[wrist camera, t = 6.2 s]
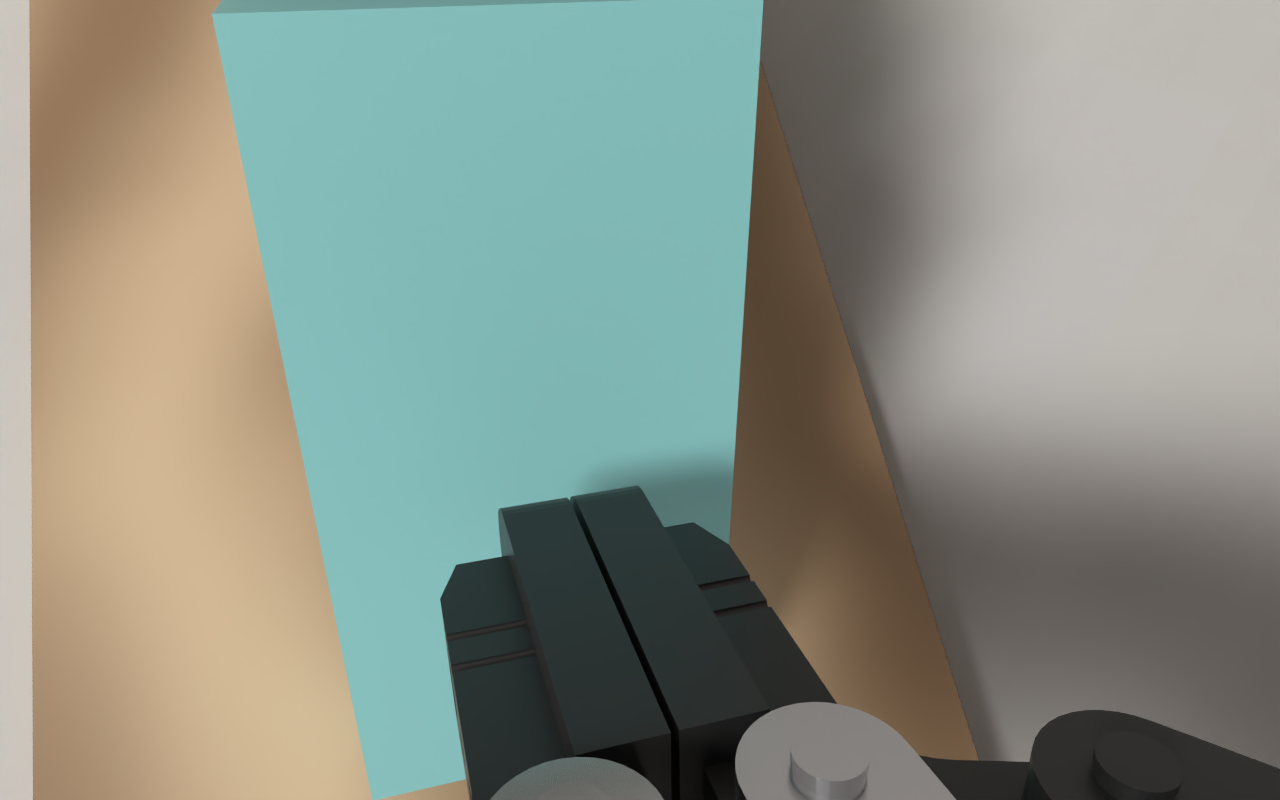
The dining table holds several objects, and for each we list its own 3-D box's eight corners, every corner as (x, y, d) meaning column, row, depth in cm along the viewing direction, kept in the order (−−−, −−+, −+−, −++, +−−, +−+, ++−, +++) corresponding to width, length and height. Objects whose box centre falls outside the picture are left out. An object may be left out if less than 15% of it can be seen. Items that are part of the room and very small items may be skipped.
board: (664, -182, 24) (672, -220, 23) (991, 898, 16) (1024, 905, 15) (47, -193, 20) (28, -238, 20) (65, 1179, 12) (34, 1212, 12)
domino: (683, 646, 15) (707, -21, 11) (717, 720, 14) (763, -4, 9) (367, 712, 14) (227, -9, 9) (372, 801, 13) (212, 13, 8)
